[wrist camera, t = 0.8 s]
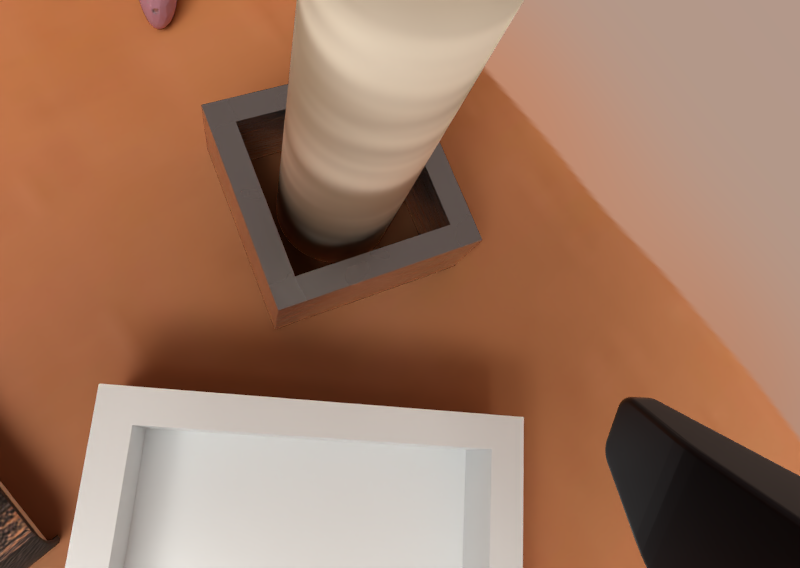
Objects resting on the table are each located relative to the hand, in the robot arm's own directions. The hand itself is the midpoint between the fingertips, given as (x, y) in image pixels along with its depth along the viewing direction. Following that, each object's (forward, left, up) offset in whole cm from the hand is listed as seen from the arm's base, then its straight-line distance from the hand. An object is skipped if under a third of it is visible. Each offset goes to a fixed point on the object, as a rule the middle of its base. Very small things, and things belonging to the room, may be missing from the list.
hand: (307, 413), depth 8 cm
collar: (+7, -5, -13) cm, 15 cm away
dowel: (+7, -5, -13) cm, 15 cm away
